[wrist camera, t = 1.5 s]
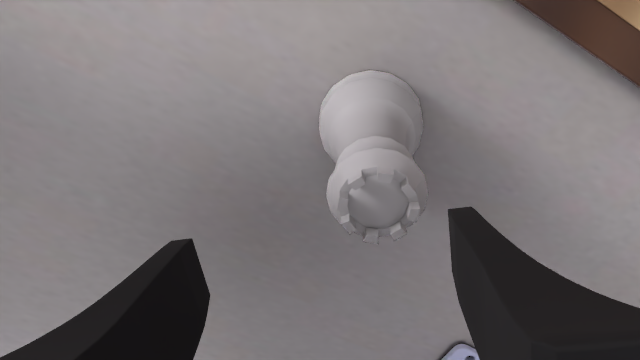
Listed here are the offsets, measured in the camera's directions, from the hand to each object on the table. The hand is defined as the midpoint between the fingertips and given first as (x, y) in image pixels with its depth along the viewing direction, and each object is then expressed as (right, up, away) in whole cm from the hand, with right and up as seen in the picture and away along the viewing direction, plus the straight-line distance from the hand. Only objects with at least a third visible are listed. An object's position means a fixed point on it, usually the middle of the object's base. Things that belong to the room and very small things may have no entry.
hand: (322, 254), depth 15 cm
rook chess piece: (+2, +5, +9) cm, 10 cm away
